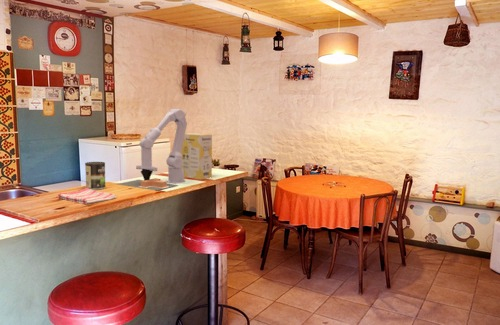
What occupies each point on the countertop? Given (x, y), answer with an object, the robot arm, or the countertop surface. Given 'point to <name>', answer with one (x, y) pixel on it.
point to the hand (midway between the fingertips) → (146, 182)
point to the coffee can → (95, 175)
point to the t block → (154, 183)
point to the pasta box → (197, 155)
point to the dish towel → (87, 196)
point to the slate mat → (138, 184)
